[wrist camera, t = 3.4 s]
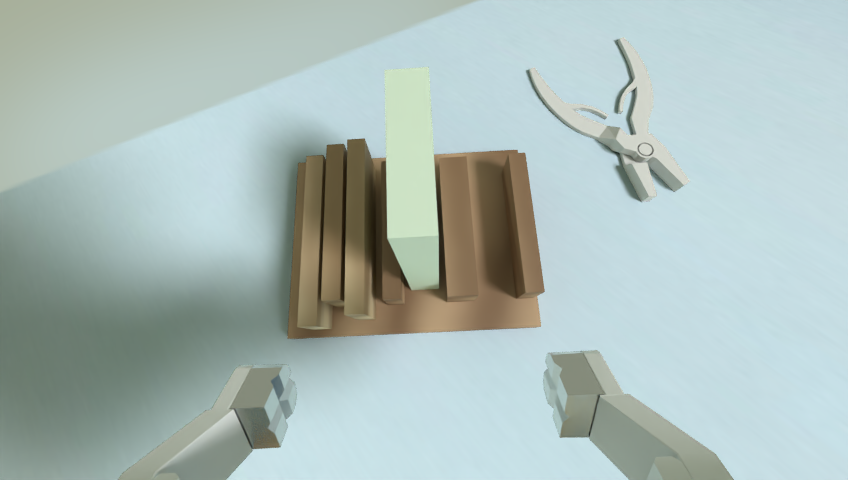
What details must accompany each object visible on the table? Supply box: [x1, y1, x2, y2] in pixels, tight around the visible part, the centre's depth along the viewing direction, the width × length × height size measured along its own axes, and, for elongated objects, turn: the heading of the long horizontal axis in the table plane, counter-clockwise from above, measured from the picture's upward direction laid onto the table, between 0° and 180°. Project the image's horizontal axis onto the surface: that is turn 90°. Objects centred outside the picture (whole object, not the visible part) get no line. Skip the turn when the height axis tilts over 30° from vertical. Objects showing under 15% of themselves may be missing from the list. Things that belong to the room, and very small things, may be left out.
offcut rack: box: [288, 139, 545, 339], centre depth 26 cm, size 18×14×6 cm
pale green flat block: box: [385, 67, 439, 290], centre depth 22 cm, size 2×8×13 cm, turn 2°
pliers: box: [529, 37, 690, 202], centre depth 31 cm, size 10×2×15 cm
